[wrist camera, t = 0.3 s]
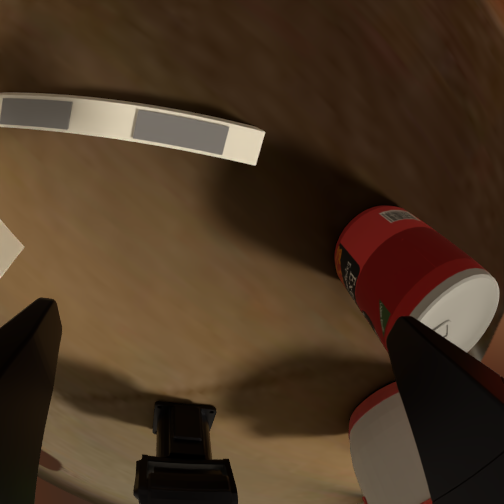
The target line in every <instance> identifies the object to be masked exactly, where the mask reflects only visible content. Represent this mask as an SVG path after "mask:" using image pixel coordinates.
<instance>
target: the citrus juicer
mask: <svg viewBox="0 0 504 504" xmlns="http://www.w3.org/2000/svg"><path fill="white" fill-rule="evenodd" d="M349 439H350V451H351V457H352V463H353V467H354V471H355V474H356V477H357V480H358V483H359V485H360V488H361V490H362V493H363V496H364V497H362V499H363V501H364V502H362V503H359V504H432V501H431V497H430V493H429V489H428V485H427V481H426V478H425V474H424V470H423V467H422V463H421V460H420V456H419V453H418V450H417V446H416V443H415V440H414V436H413V433H412V430H411V427H410V424H409V421H408V418H407V415H406V412H405V409H404V406H403V403H402V400H401V397H400V394H399V391H398V387H397V384H396V382H394V383H391V384H389V385H387V386H385V387H383V388H381V389H380V390H378V391H376V392H375V393H373V394H372V395H370V396H369V397H368V398H367V399H365V400H364V401H363V402H362V403H361V404H360V405H359V406H358V407H357V408H356V409H355V410H354V412H353V413H352V415H351V417H350V421H349Z"/></svg>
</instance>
